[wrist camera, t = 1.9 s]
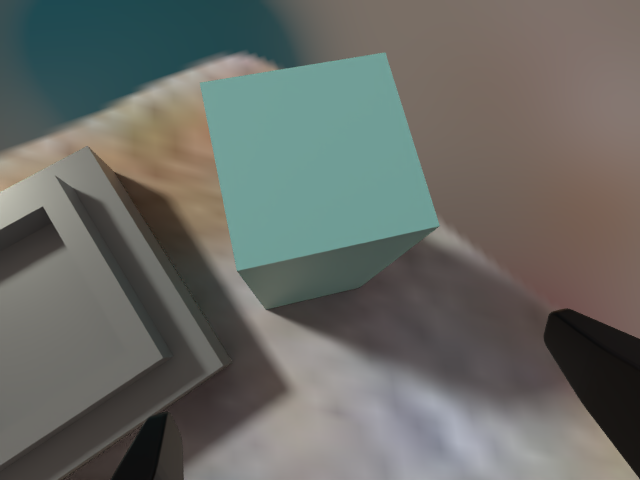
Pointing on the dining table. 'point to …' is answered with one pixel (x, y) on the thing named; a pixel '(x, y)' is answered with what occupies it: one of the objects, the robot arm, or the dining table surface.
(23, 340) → the base brick
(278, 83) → the column brick
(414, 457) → the dining table surface
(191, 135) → the dining table surface
